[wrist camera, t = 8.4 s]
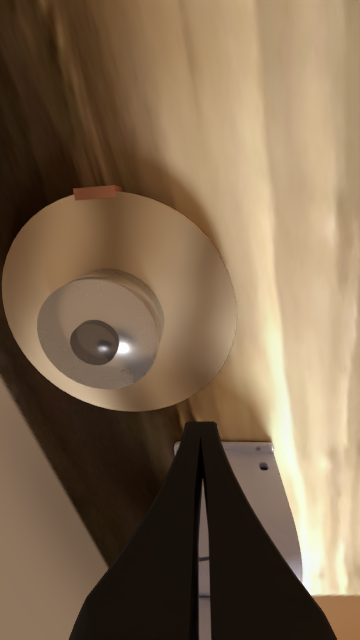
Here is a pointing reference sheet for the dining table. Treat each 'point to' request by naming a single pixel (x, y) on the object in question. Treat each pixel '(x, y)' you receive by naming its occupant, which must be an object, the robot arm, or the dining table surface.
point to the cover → (102, 328)
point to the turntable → (139, 260)
